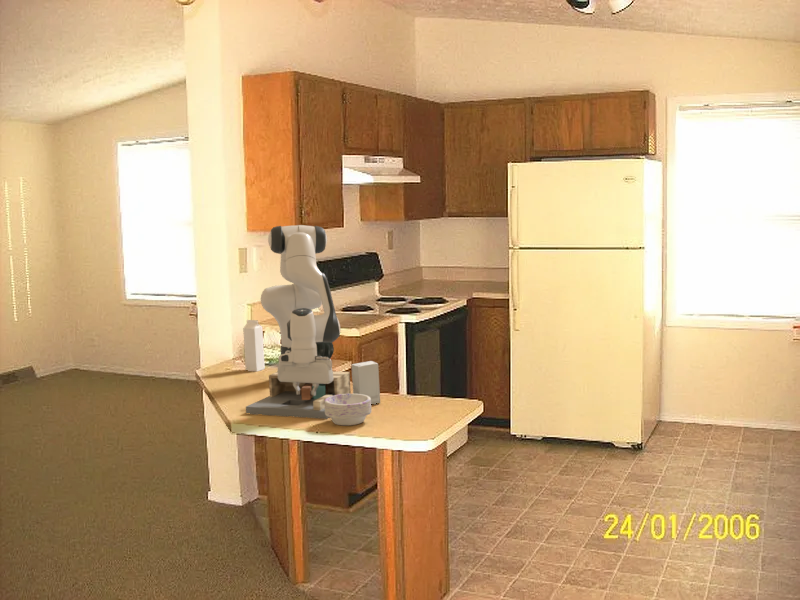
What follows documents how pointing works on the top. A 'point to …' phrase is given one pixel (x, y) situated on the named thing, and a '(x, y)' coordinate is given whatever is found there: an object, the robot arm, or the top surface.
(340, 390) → the shelf
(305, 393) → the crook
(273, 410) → the board
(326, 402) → the paper bowls
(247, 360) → the milk
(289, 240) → the robot arm
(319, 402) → the stick
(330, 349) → the squash
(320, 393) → the block
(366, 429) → the top surface
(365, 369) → the skincare box
